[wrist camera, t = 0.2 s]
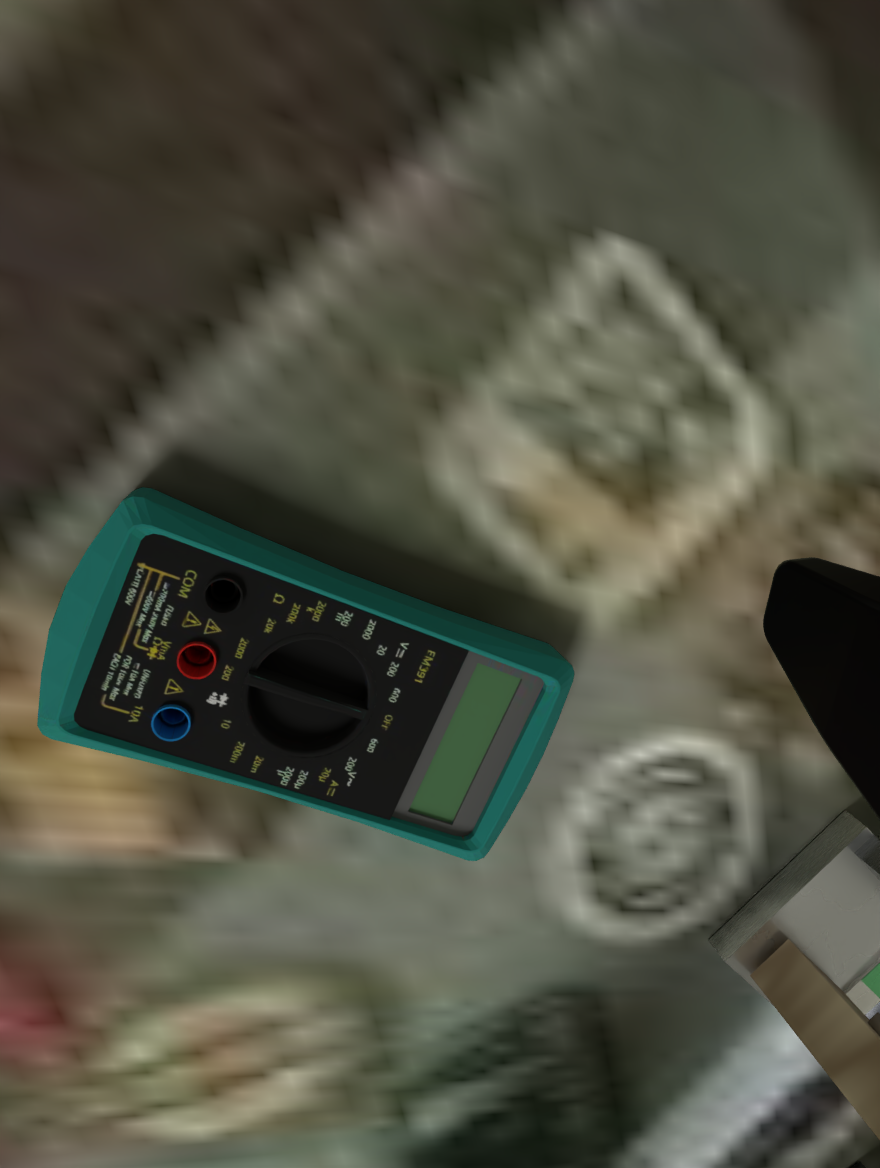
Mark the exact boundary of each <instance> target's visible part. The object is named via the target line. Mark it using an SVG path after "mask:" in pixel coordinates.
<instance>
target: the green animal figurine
mask: <svg viewBox="0 0 880 1168" xmlns="http://www.w3.org/2000/svg"><path fill="white" fill-rule="evenodd" d="M852 1168H866V1167H865V1166H864V1165H863V1164H862V1163H861V1162H858V1163H857V1164H856V1165H855V1166H853V1167H852Z"/></svg>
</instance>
